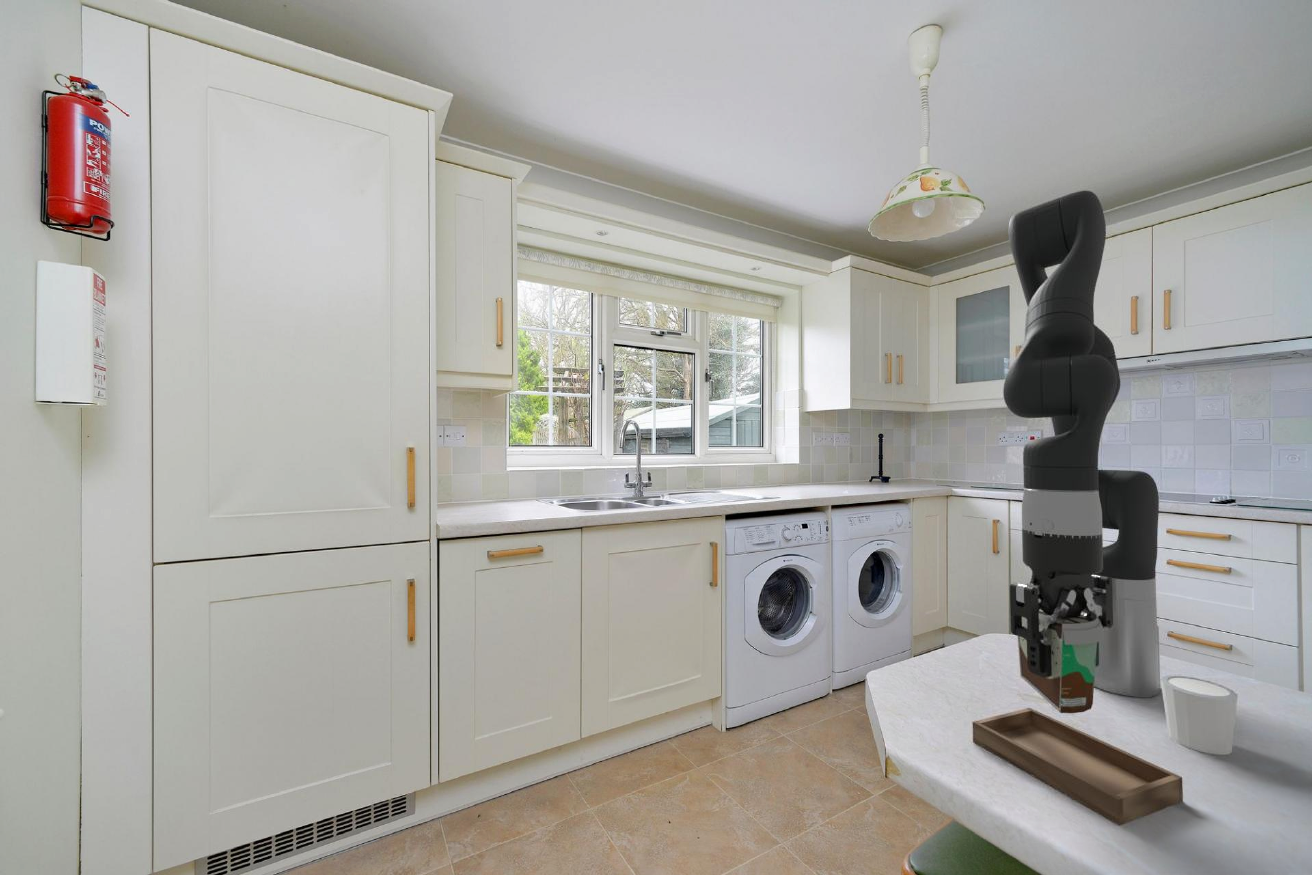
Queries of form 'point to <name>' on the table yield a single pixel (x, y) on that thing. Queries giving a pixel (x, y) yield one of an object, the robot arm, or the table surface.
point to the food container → (1067, 663)
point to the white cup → (1199, 713)
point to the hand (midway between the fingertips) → (1063, 669)
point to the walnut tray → (1080, 765)
